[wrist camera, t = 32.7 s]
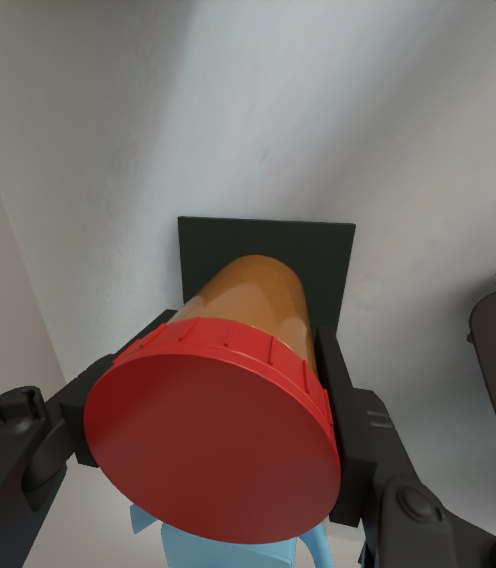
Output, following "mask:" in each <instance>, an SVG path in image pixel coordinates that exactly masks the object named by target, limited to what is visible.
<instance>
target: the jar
mask: <svg viewBox="0 0 496 568" xmlns="http://www.w3.org/2000/svg"><path fill="white" fill-rule="evenodd" d="M195 317H199V318H209V319H221V320H227V321H233V322H234V321H238V323H240V324H244V325H247V326H250V327H252V328H255V329H257V330H259V331H262V332H264V333H266V334H268V335H270V336H271V337H272V336H275V337H276V339H277V340H279V341H280V342H281V343H283V344H285V345H286V346H287V347H288V348H290V349H291V350H292V351H293V352H295V353H296V354H297V355H298V356H299V357H300V358H301V359H302V360H306V361H307V364H308V367H309V368H310V369H311V370H312V372H313V373H314V374H315V376H316V377H317V379H318V381H319V377H318V371H317V365H316V359H315V352H314V346H313V340H312V334H311V328H310V322H309V315H308V309H307V303H306V297H305V292H304V289H303V286H302V284H301V282H300V280H299V278H298V277H297V275H296V274H295V273H294V272H293V271H292V270H291V269H290V268H289V267H288V266H286V265H285V264H284V263H282V262H280V261H278V260H276V259H274V258H271V257H267V256H261V255H249V256H244V257H240V258H237V259H235V260H233V261H231V262H229V263H228V264H227V265H225V266H224V267H223V268H222V269H221V270H220V271H219V272H218V273H217V274H216V275H215V276H214V277H213V278H212V279H211V280H210V281H209V282H208V283H206V284H205V285H204V286H203V287H202V288H201V289H200V290H199V291H198V292H197V293H196V294H195V295H194V296H193V297H192V298H191V299H190V300H189V301H188V302H187V303H186V304H185V305H184V306H183V307H182V308H181V309H180V310H179V311H178V312H177V313H176V314H175V315H174V316H173V317H172V318H171V319H169V320H168V321H167V322H166V323H165V325H167V324H170V323H172V322H177V321H182V320H186V319H194V318H195Z"/></svg>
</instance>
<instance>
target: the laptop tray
mask: <svg viewBox="0 0 496 568" xmlns="http://www.w3.org/2000/svg"><path fill="white" fill-rule="evenodd" d="M495 283H496V275H495ZM469 328H470V334H469V335H468V336H467V341H468V342H470V343H472V344H474V347H475V351H476V354H477V358H478V361H479V365H480V368H481V371H482V375H483V378H484V381H485V385H486V388H487V391H488V394H489V397H490V400H491V403H492V406H493V409H494V412H495V414H496V291H495V292H493V293H491V294H489V295H487V296H486V297H484V298H483V299H481V300H480V301H479V302H478V303H477V304H476V305H475V307H474V308H473V310H472V312H471V314H470V317H469Z"/></svg>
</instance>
